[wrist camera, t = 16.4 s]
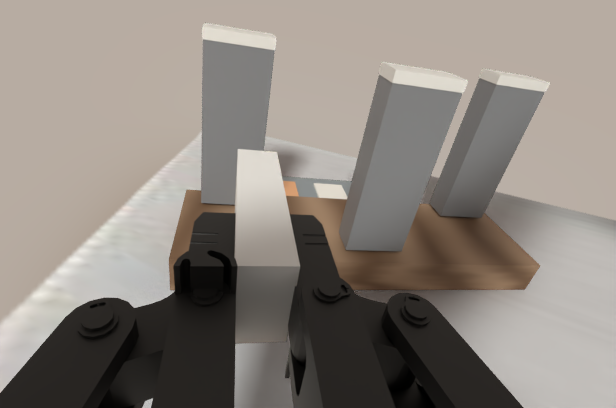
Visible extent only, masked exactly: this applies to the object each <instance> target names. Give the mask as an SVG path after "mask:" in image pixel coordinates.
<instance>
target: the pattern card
mask: <svg viewBox="0 0 616 408" xmlns="http://www.w3.org/2000/svg"><path fill="white" fill-rule="evenodd" d="M282 179H283V184H284V189H285V194H286V196H299V197H316V198H332V199H347V198H348V194H349V190H350V186H351V182H352V181H340V180H326V179H313V178H299V177H285V176H282Z"/></svg>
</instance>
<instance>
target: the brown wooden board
mask: <svg viewBox="0 0 616 408" xmlns="http://www.w3.org/2000/svg"><path fill="white" fill-rule="evenodd" d="M286 199H287V204H288V209H289V214H297V215H314V216H315V217H316V218H317V219H318V220H319V221H320V223H321V224H322V225H323V228H324V231H325V234H326V237H327V240H328V243H329V244H328V245H329V246H330V249H331V252H332V255H333V258H334V261H335V264H336V267H337V270H338V273H339V277H340V278H342V279H343V280H344V281H346V282H347V283H348V284H349V285H350V286H351V288H352V289H353V290H515V289H525V288H526V287H527V285H528V284H529V282H530V281H531V279H532V278H533V276H534V275H535V273H536V272H537V270H538V269H539V267H540V265H539V264H538V263H537V262H536V261H535V260H534V259H533V258H532V257H531V256H529V255H528V254H527V253H526V252H525V251H524V250H523V249H522V248H521V247H520V246H519V245H518V244H517V243H516V242H515V241H514V240H512V239H511V238H510V237H509V236H508V235H507V234H506V233H505V232H504V231H503V230H502V229H501V228H500V227H499V226H498V225H496V224H495V223H494V222H493V221H492V220H491V219H490V218H489V217H488V216H487V215H486V214H485V213H484V214H483V216H482V218H475V217H456V216H440V215H439V214H438V212H437V211H436V210H435V209H434V208H433V207H432V205H431V204H420V205H419V207H418V210H417V213H416V215H415V218H414V220H413V223H412V226H411V228H410V231H409V233H408V236H407V239H406V241H405V244H404V246H403V249H402V251H364V250H346V249H345V247H344V244H343V242H342V239H341V237H340V234H339V229H340V225H341V221H342V217H343V213H344V209H345V205H346V202H347V199H332V198H316V197H299V196H286ZM203 212H217V213H235V205H230V204H211V203H201V191H199V190H186V194H185V198H184V202H183V206H182V210H181V214H180V218H179V222H178V226H177V230H176V234H175V238H174V241H173V245H172V249H171V253H170V257H169V272H170V290H175V285H174V269H173V266H174V264H175V262H176V260H177V259H178V258H179V257H180V256H181V255H183V254H184V253H185V252H187V251H189V246H190V240H191V235H192V230H193V225H194V221H195V220H196V219H197V218H198V217H199V216H200V215H201V214H202V213H203Z"/></svg>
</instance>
